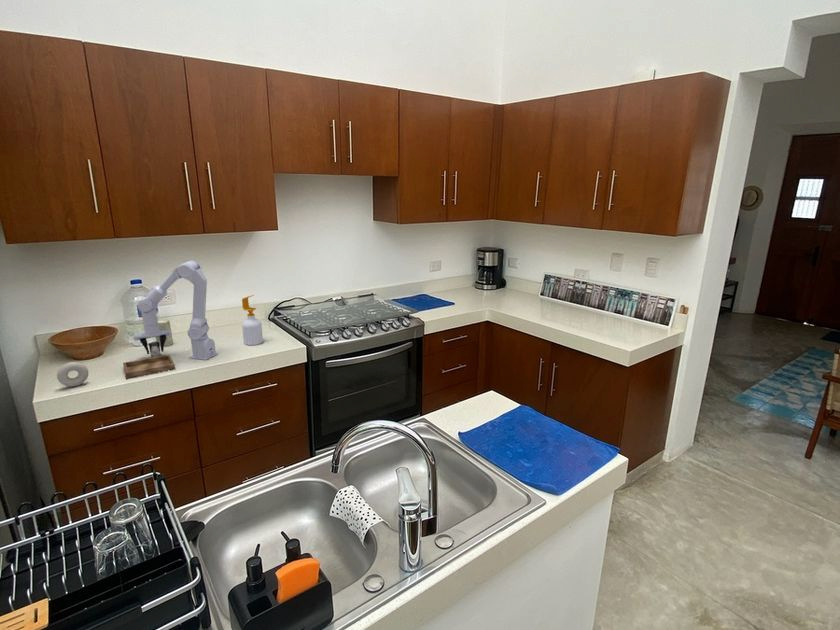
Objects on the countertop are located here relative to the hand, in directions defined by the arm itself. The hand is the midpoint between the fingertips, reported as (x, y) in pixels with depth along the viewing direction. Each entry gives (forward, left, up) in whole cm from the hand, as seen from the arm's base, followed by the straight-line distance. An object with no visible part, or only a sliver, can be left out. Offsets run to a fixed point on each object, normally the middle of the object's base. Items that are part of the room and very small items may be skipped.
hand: (155, 352), depth 209 cm
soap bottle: (-31, -30, -3) cm, 43 cm away
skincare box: (+9, -15, -3) cm, 18 cm away
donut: (+6, +34, -3) cm, 35 cm away
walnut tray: (-8, +12, -2) cm, 15 cm away
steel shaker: (0, 0, -2) cm, 2 cm away
